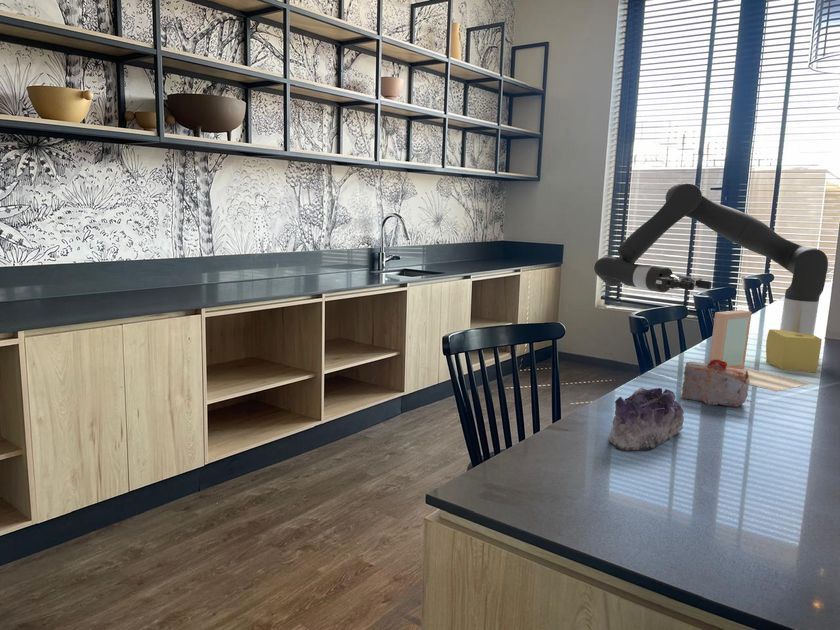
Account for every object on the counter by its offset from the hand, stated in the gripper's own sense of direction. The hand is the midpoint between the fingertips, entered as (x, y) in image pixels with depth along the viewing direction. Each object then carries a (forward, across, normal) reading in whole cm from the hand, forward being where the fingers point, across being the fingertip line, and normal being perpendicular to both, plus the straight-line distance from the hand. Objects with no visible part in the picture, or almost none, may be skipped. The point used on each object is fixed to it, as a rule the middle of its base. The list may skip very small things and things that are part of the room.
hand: (702, 285), depth 178 cm
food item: (+25, -29, +22) cm, 44 cm away
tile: (+10, 0, +22) cm, 24 cm away
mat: (+17, 0, +22) cm, 28 cm away
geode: (+33, -63, +23) cm, 75 cm away
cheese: (+16, +23, +22) cm, 36 cm away
